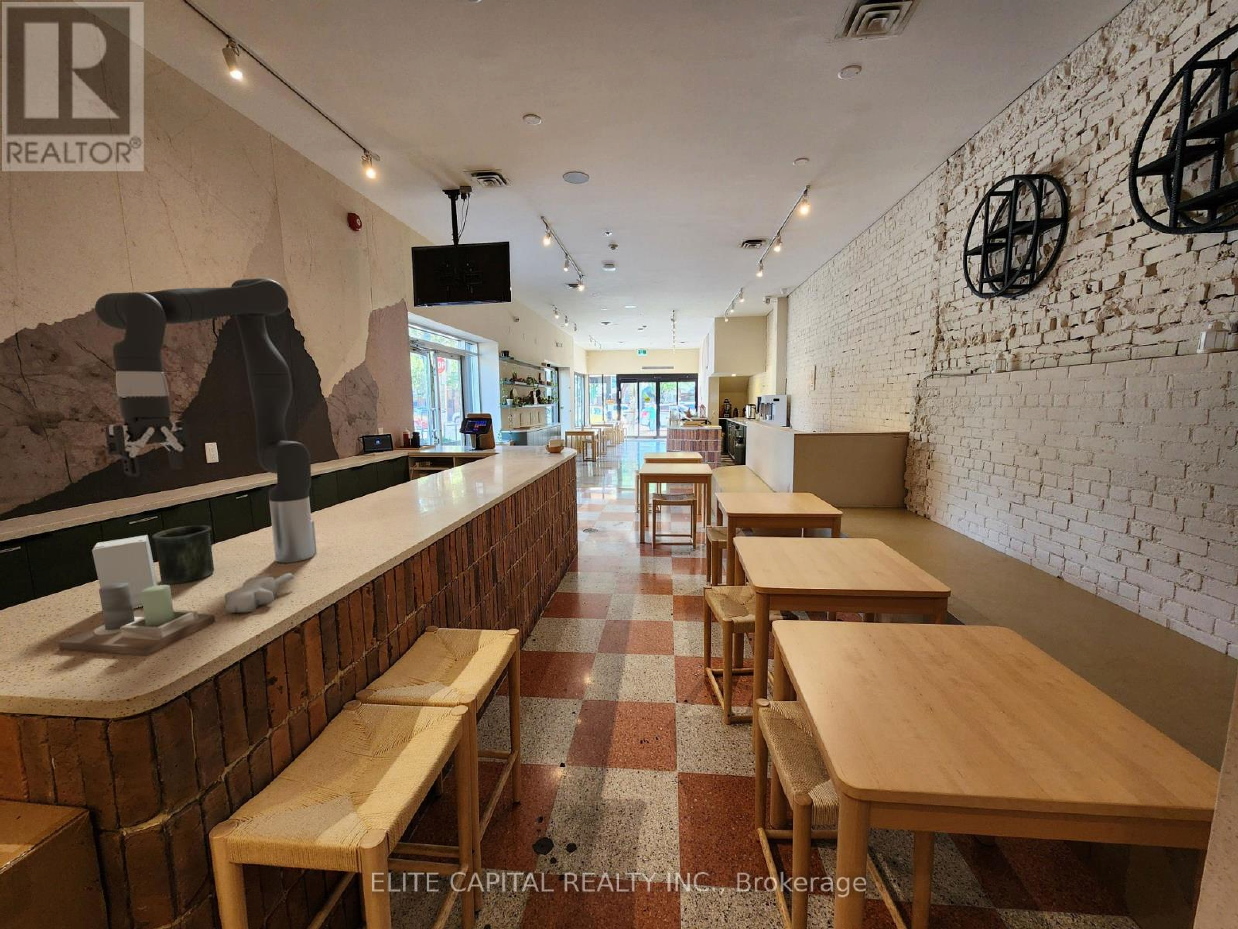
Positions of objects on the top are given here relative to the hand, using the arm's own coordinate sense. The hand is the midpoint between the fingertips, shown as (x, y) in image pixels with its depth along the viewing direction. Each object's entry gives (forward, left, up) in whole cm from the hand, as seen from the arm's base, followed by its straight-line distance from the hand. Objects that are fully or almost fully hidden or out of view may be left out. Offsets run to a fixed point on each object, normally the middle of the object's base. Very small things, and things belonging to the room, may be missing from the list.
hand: (155, 472), depth 101 cm
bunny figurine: (-5, +16, -30) cm, 34 cm away
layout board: (+12, +7, -30) cm, 33 cm away
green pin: (+12, +11, -28) cm, 33 cm away
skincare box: (+1, -9, -30) cm, 31 cm away
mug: (-17, -14, -30) cm, 37 cm away
